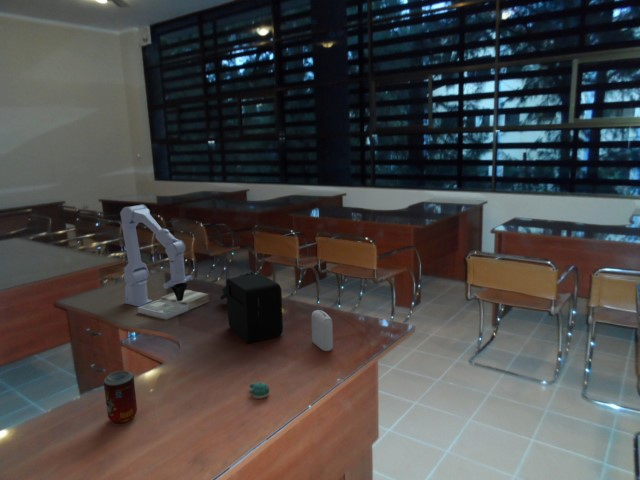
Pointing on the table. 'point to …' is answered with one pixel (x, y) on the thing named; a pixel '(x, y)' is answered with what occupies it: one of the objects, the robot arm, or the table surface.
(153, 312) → the box
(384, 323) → the table surface
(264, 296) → the air purifier
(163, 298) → the bench board
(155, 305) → the tile cream
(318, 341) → the photo printer
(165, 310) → the tile sage
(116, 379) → the soda can
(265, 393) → the green domed piece
